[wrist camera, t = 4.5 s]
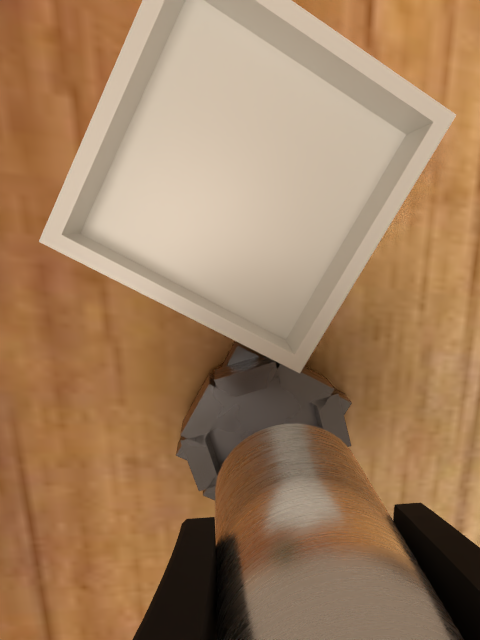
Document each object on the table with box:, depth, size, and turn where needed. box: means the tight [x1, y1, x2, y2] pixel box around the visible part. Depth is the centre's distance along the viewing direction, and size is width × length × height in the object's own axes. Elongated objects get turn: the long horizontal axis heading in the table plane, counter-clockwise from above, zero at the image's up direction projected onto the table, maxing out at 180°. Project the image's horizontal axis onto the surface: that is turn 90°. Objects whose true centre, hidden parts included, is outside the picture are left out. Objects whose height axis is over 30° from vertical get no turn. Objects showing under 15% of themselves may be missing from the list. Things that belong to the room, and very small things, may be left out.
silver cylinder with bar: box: [215, 424, 464, 640], centre depth 7 cm, size 4×4×7 cm
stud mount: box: [176, 341, 351, 500], centre depth 18 cm, size 7×7×2 cm
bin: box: [39, 0, 456, 373], centre depth 15 cm, size 11×11×2 cm
